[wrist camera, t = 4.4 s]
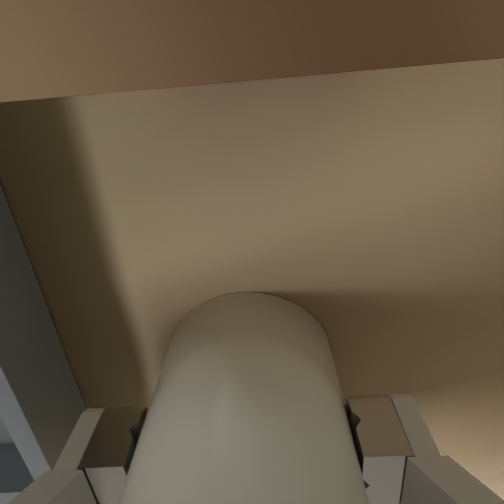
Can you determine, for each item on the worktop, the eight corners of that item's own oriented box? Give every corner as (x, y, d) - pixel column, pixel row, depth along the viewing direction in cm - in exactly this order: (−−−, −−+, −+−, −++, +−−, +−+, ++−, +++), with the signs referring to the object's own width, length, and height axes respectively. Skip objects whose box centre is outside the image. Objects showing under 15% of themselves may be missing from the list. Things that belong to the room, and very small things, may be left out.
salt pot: (182, 421, 13) (123, 700, 7) (153, 298, 10) (37, 557, 5) (330, 415, 12) (387, 697, 7) (331, 286, 10) (416, 548, 5)
